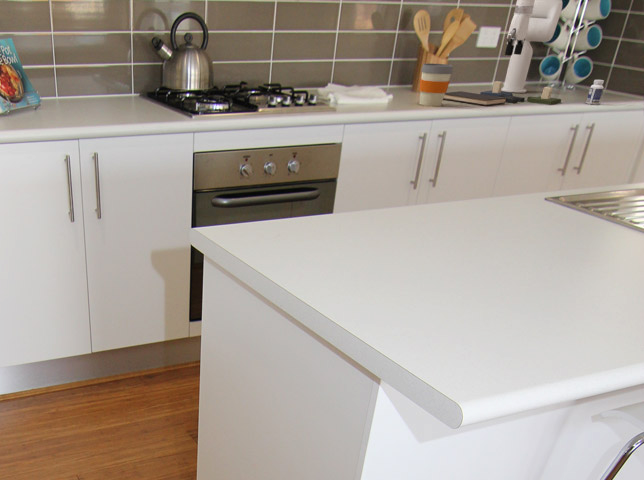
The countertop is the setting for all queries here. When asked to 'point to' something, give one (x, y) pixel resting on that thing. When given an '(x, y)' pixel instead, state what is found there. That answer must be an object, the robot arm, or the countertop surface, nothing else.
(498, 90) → the slate tile
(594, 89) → the pill bottle
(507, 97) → the base tile
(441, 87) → the reusable coffee cup
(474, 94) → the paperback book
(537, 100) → the olive tile
